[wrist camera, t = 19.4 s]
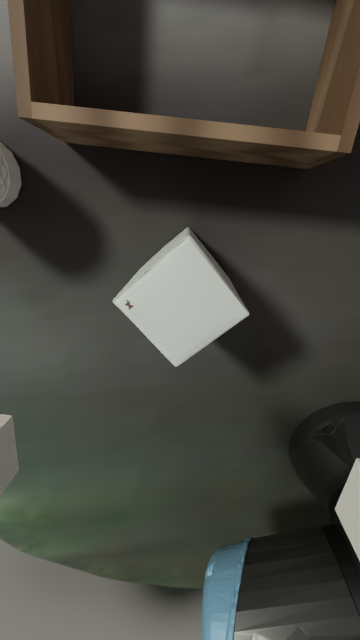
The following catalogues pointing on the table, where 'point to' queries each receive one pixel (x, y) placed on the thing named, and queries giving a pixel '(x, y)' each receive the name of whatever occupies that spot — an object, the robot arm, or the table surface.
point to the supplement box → (181, 299)
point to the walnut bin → (171, 132)
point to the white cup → (8, 177)
